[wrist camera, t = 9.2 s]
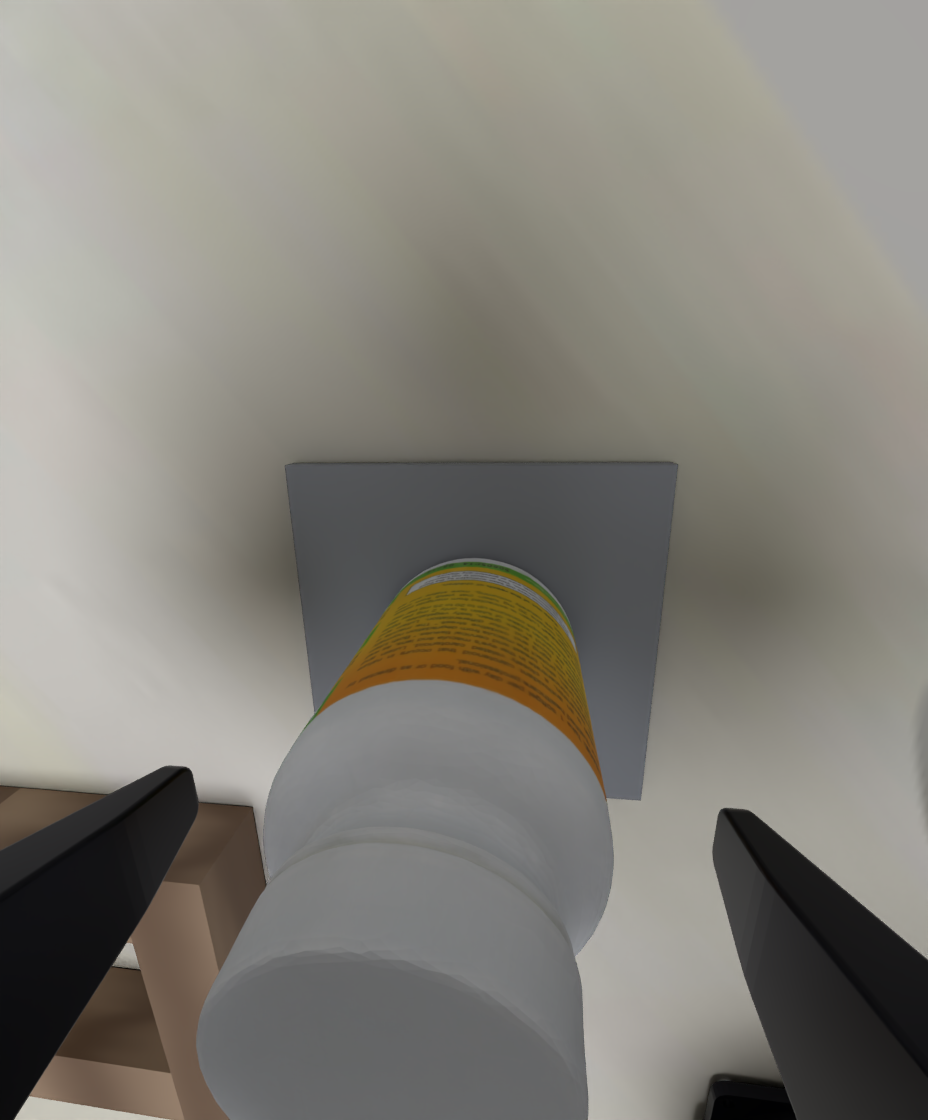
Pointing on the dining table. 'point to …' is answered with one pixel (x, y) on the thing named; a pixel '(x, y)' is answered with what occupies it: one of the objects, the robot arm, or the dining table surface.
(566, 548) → the rubber pad
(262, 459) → the dining table surface
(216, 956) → the walnut holder
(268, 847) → the supplement bottle
